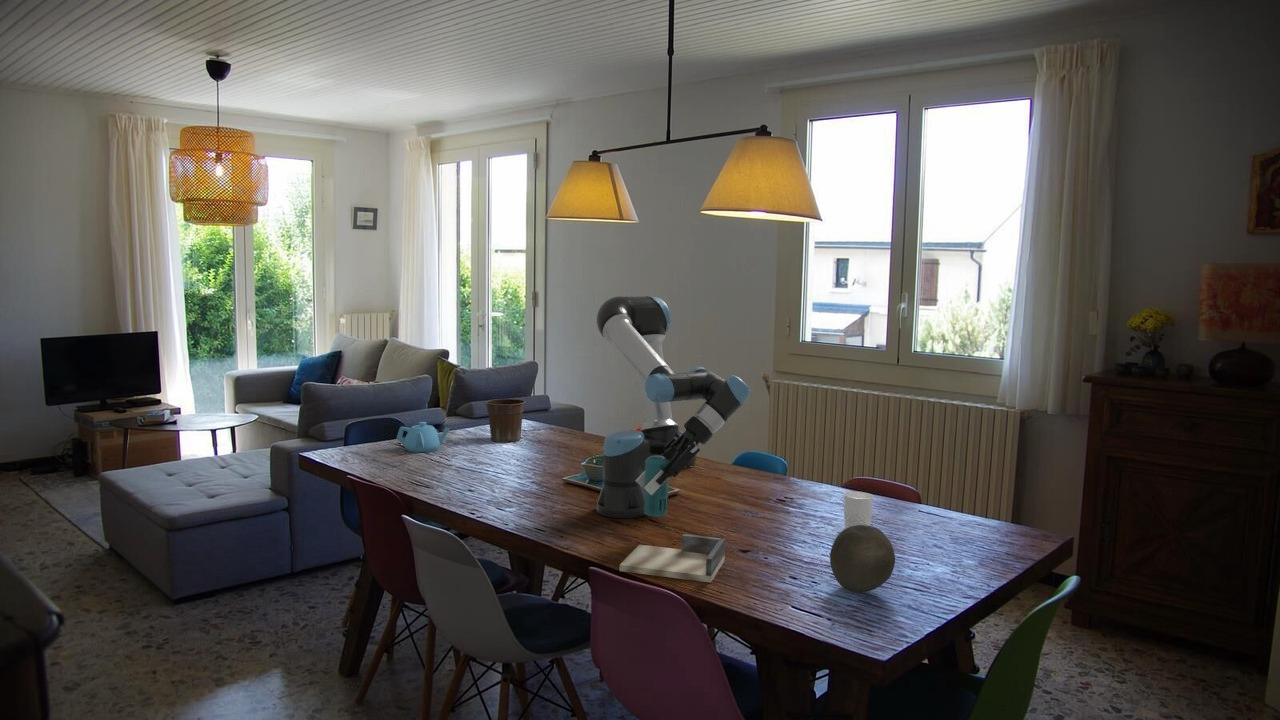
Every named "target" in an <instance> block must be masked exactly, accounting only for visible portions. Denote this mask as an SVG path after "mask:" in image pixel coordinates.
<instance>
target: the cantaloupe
mask: <svg viewBox="0 0 1280 720" xmlns="http://www.w3.org/2000/svg"><path fill="white" fill-rule="evenodd" d="M829 561H830V563H829V564H830V569H831V571H832V574H833V576H834V578H835V580H836V581H837V583H838V584H839V585H840V586H841V587H842V588H843V589H845V590H847V591H849V592H852V593H856V594H857V593H858V594H859V593H860V594H862V593H869V592H871V591H873V590H876V589H878V588H879V587H881V586H882V585H884V584H885V583H886V582H887V581H888V580H889V579H890V578H891V576H892V574H893V572H894V568H895V564H896V553H895V549H894V547H893V544H892V542H891V541H890V539H889V538H888V537H887V535H886V534H885V533H884V532H883V531H882V530H881V529H880V528H877V527H875V526H873V525H870V526H868V525H855V526H851V527H848V528H846V529H845V528H844V529H843V530H842V531H840V533H839V534H838V535H837V536H836V538H835V539H834V541H833V543H832V545H831V548H830V553H829Z"/></svg>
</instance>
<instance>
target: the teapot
mask: <svg viewBox="0 0 1280 720" xmlns="http://www.w3.org/2000/svg"><path fill="white" fill-rule="evenodd" d="M449 431H450V428H449V427H445V429H443V432H442V433H441V434H439V433H438V431H437V429H436V428H435V426H433V425H430V424H427V421H419V422H418V424H417V425H412V426H411V427H406V426H402V425H401V426H400V427H399V429H398V432H397V436H396V439H397V440H398V441H399V442H400V444H402V445H403V447H404V448H405V449H406V451H407V452H412V453H431V452H435V451H437V450H439V448H440V447H441V446H442V444H443V442H444V440H445V438H446V436H447V434H448V432H449ZM404 432H407V433H406V435H405V436H403V435H404Z"/></svg>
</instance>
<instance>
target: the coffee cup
mask: <svg viewBox="0 0 1280 720" xmlns="http://www.w3.org/2000/svg"><path fill="white" fill-rule="evenodd" d="M699 444H700V442H699V443H698V445H699ZM698 445H697V447H698ZM698 448H699V447H698ZM696 460H697V454H695V455H694V456H693V457H692V459H691V460H690V461H689V462H688V463H687V464H686V465H685V466H686V467H690V466H696V463H697V462H696Z"/></svg>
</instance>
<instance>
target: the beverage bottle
mask: <svg viewBox="0 0 1280 720" xmlns="http://www.w3.org/2000/svg"><path fill="white" fill-rule="evenodd" d="M649 452H650V453H653V454H663V453H665V445H663V444H658V443H655V444H651V445H650V450H649ZM668 463H669V461H668V460H667V459H666V458H665V457H664V456H658V455H654V456H650V457H648V458H647V459H646V460H645V486H646V485H647V484H648V483H649V482H650V481H651V480H652V479H653V478H654V477H655V476H656V475H657V474H658V473H659V472H660V470H662V468H664V467H666V466H667V464H668ZM662 471H663V470H662ZM663 472H664V471H663ZM669 478H670V477H669ZM669 478H668V479H667V480H666V481H665V482H664V483H663V484H662V485H661V486H660V487H659V488H658V489H657V490H656V491H655V492H654V494H653V495H652V496H651V495H650V494H649V493H648V492H647V491H646V490H645V489H644V488H643V490H644V504H643V506H644V513H645V516H649V517H657V518H658V517H664V516H667V514H668V508H669V505H668V504H669V483H670V482H669ZM645 486H644V487H645Z"/></svg>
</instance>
